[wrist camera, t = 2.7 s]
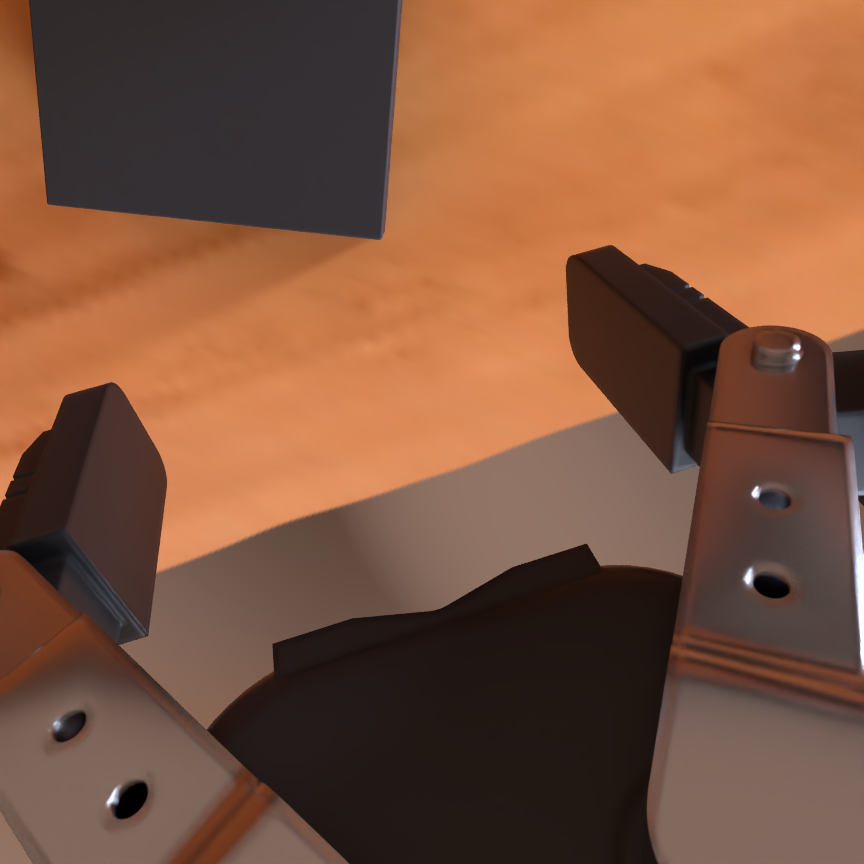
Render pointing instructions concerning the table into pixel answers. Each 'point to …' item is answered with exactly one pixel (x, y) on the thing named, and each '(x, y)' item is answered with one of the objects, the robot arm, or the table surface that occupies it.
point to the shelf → (220, 109)
